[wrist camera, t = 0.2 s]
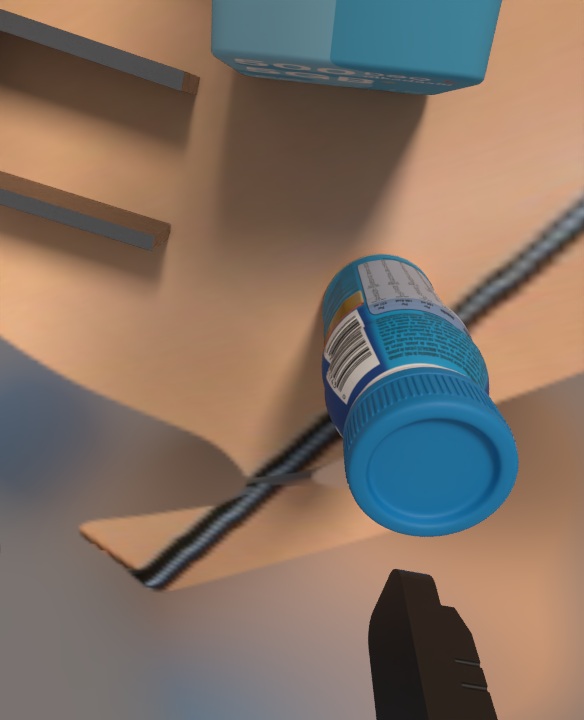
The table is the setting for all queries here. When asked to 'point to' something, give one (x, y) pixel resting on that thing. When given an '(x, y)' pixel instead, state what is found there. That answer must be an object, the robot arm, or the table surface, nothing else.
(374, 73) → the data package
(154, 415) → the table surface
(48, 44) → the sorting rack
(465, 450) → the beverage bottle
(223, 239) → the table surface
